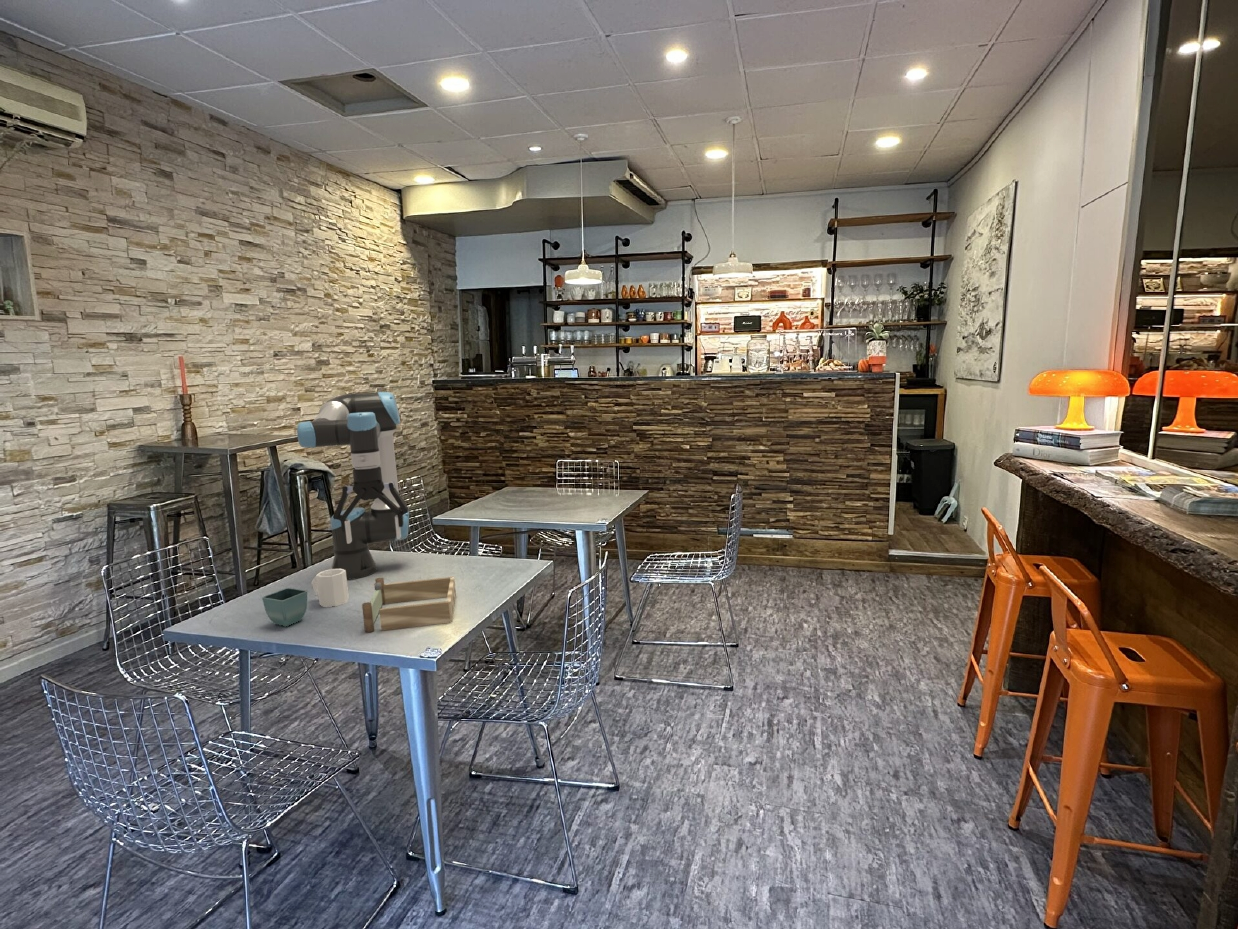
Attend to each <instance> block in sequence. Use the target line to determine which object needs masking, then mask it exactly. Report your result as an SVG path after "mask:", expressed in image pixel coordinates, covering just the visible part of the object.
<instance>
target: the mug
mask: <svg viewBox="0 0 1238 929" xmlns="http://www.w3.org/2000/svg"><path fill="white" fill-rule="evenodd" d="M310 583H311V586H312V588H313V592H314V595H315V596H318V602H319V606H320V605H321V607H323V608H330V607H331V608H333V607H332V606H335V607H337V606H341V605H344V604H346V603H348V602H349V600H350V594H349V589H348V580H347V578H346V570H344V569H332V568H330V569H325V570H322V571H320V572H319V573H317V574H315V576H314V578H313V579H312V581H311V582H310Z"/></svg>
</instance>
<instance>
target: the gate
mask: <svg viewBox="0 0 1238 929" xmlns="http://www.w3.org/2000/svg"><path fill="white" fill-rule="evenodd" d="M373 585H374V593H373V594H372V597H371V599H370V601H369V602H370V603H371V605H372V614H373V623H375V621H376V618H377V617H378V615H379V609H381V607H383V606H382V594H381V589H382V587H381V583H380V582H378V583H376V582H375V583H374V584H373Z"/></svg>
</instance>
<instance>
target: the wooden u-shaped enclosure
mask: <svg viewBox="0 0 1238 929" xmlns="http://www.w3.org/2000/svg"><path fill="white" fill-rule="evenodd" d="M374 581H375V583H378V582H380V583H381V587H382V589H381V594H382V605H383V606H384V605H385V604H395V603H396V604H397V603H403V602H413V601H421V600H423V601H424V600H431V599H438V598H439V599H440V598H446V600H445V601H435V602H427V603H419V604H410V605H400V606H393V607H383V608H380V609H379V612H378V615H379V621H380V629H381V631H389V630H398V629H406V628H413V627H414V628H415V627H423V626H430V625H431V626H433V625H439V624H448V623H451V622H453V620H454V612H455V606H456V598H457V593H456V591H457V590H456V581H455V577H453V576H448V577H438V578H428V579H420V580H411V581H400V582H392V583H385V580H384V577H378V578H375V579H374ZM361 606H362V607H361V608H362V616H363V625H364V633H366V634H370V633H373V632H374V631H375V625H374V623H375V622H374V623H373V614H372V605H371V603H370V601H369V602H368V601H367V602H364V603H362V604H361Z"/></svg>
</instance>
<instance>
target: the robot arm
mask: <svg viewBox="0 0 1238 929" xmlns="http://www.w3.org/2000/svg"><path fill="white" fill-rule="evenodd" d="M400 424H401V417H400V413H399V409H398V404H397V400H396V398H395V395H394V394H393V393H392V392H388V391H373V392H361V393H345V394H341V395H339V396H336V397H332V398H331V399H329V400H327V401H326V402H324V403H323V404H321V406H320V407H319V409H318V415H316V416H315V418H314V419H313V420H312V421H310V420H306V421H301V422H299V423H298V424H297V427H296V434H297V440H298V441H297V442H298V445H299V446H300V447H301V448H305V449H306V448H311V449H314V448H320V447H332V446H333V447H335V446H348V445H349V446H350V447H349V448H350V459H351V466H352V467H353V469H352V478H353V485H349V484H345V485H344V486H342V491H341V493H342V494H341V496H340V499H339V502H338V503H337V507H336V509H335V511H334V513H333V515H332V516H331V518H330V526H331V527H330V530H331V536H332V537H331V538H332V545H333V553H334V554H333V555H334V556H333V560H332V564H331V569H344V570H346V578H347V581H349V580H355V579H360V578H365V577H367V576H370V575H372V574H374V573H375V572H377V565H376V561H375V560H374V558H373V555H372V553H371V552H370V545H369V544H377V543H384V542H386V543H387V542H393V541H394V542H396V541H402V540H405V539H406V538H408V535H409V526H410V525H409V524H410V523H409V522H410V520H409V519H410V507H408V506H407V504H406V502H405V501H404V500H403V498H402V496H401V495H400V492H399V491H400V490H399V482H398V481H399V480H398V472H397V463H396V455H395V453H396V452H395V445H394V444H395V443H394V433H395V432H396V431H397V430H398V428H397V426H398V425H400ZM352 491H353V492H354V493H355V494H356V496H355V498H354V499H353V500H352V502H351V503H350V505H349V506H348V507H347V508H346V509H344V506H345V504H346V502H347V499H348V496H349V494H351V492H352ZM361 500H363V501H369V500H372V501H373V500H374V502H373V503H372V504H370V511H369V510H368V511H366V509H365V508H364V507H356V506H357V505H358V503H360V501H361ZM343 509H344V510H343Z"/></svg>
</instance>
